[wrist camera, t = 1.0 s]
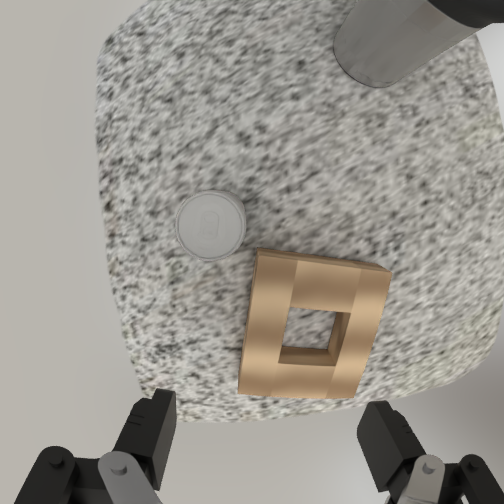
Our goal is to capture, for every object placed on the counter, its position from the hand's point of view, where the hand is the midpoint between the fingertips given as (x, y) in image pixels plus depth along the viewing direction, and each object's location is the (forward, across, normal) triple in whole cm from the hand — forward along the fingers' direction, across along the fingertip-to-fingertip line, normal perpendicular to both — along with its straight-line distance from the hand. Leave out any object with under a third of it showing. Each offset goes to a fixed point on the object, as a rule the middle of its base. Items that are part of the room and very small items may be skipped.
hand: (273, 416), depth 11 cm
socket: (+22, -6, +6) cm, 23 cm away
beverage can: (+22, +4, -6) cm, 23 cm away
